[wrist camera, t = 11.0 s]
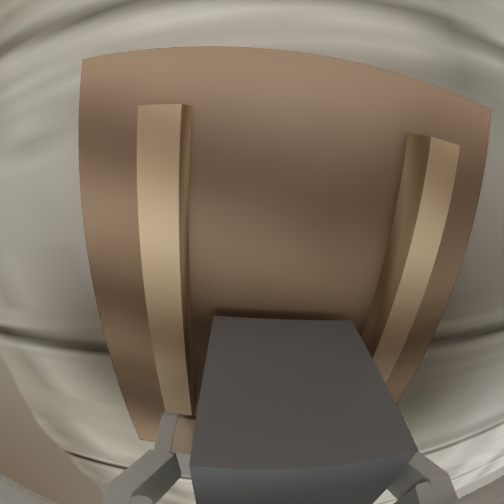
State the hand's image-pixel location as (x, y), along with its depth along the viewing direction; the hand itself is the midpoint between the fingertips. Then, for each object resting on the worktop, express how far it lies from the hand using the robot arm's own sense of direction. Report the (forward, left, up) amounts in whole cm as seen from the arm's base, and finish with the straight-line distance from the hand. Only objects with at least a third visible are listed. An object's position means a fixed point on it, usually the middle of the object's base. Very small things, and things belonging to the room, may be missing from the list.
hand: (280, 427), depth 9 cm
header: (-2, 0, -4) cm, 5 cm away
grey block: (0, 0, -2) cm, 2 cm away
